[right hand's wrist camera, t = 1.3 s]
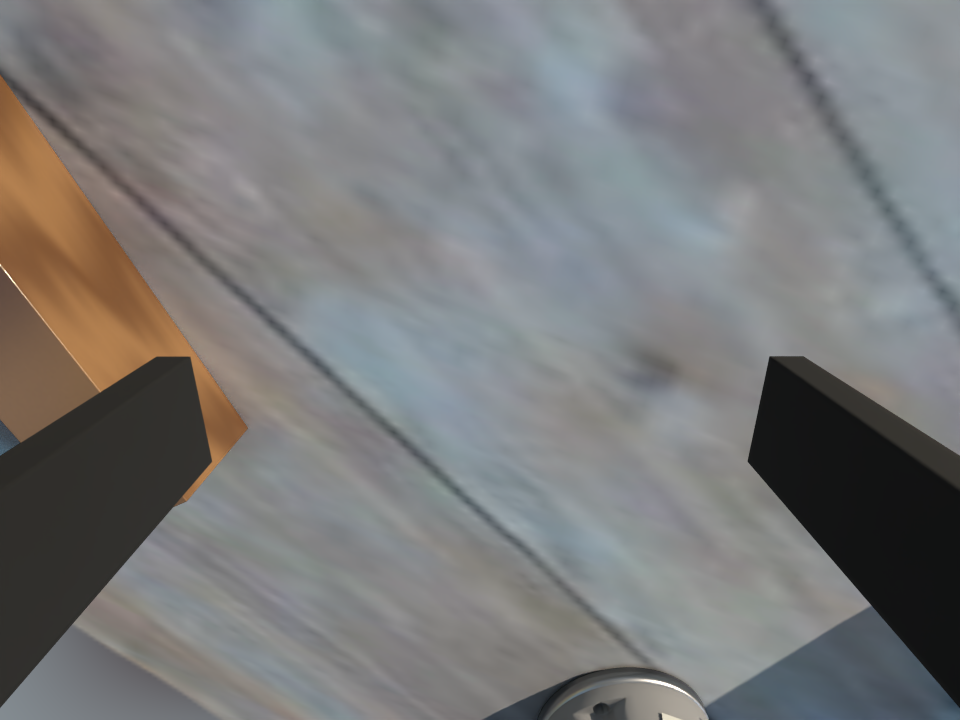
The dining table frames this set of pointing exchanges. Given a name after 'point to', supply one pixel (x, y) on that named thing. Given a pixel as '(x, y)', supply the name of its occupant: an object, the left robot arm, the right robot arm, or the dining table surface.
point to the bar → (75, 298)
